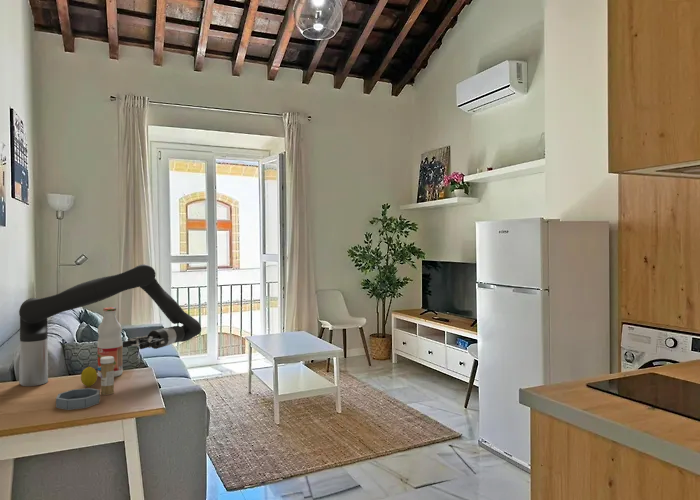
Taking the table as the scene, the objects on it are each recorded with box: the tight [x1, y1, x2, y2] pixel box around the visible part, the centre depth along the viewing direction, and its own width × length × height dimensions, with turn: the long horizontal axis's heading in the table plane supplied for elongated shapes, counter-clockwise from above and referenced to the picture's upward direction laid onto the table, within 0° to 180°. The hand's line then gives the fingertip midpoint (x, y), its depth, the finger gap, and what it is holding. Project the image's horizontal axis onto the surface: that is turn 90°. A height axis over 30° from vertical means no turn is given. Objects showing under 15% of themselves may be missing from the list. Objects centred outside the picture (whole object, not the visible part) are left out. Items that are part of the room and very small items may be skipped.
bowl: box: [55, 387, 101, 411], centre depth 179 cm, size 13×13×3 cm
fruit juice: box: [96, 306, 124, 378], centre depth 215 cm, size 9×9×28 cm
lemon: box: [80, 366, 98, 388], centre depth 198 cm, size 6×6×8 cm
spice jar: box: [100, 356, 115, 396], centre depth 190 cm, size 5×5×14 cm
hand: (131, 345), depth 200 cm, fingers open, 8 cm apart
